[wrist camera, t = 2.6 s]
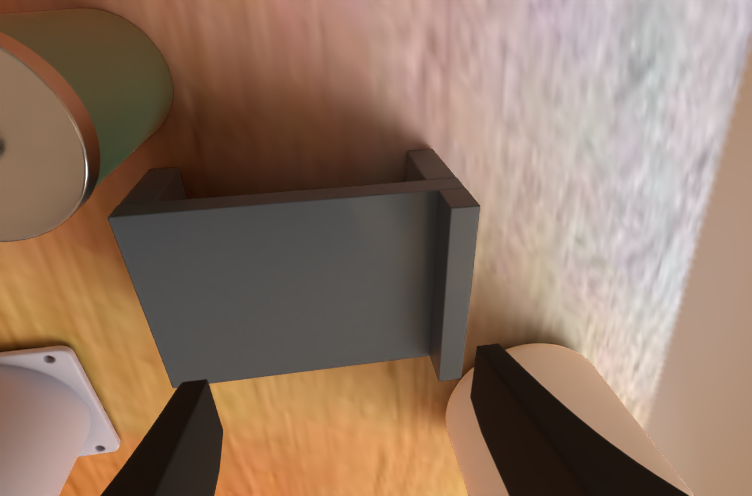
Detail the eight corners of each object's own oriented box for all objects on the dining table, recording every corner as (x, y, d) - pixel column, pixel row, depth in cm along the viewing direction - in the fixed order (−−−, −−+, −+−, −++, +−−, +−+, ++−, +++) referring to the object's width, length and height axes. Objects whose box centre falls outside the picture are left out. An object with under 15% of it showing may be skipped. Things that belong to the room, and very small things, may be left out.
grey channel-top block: (195, 319, 22) (162, 419, 17) (148, 168, 18) (86, 239, 13) (426, 293, 23) (461, 379, 18) (432, 148, 19) (480, 205, 14)
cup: (537, 305, 25) (662, 470, 16) (611, 380, 29) (738, 539, 21) (408, 401, 27) (458, 587, 19) (495, 456, 32) (566, 625, 24)
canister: (62, 147, 17) (-118, 263, 10) (5, 6, 14) (-294, 21, 7) (190, 139, 17) (109, 243, 10) (156, 2, 15) (18, 11, 8)
